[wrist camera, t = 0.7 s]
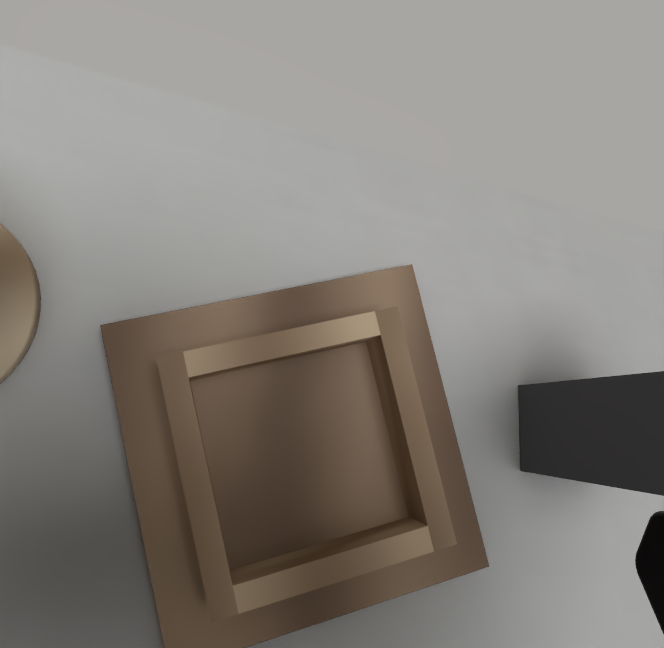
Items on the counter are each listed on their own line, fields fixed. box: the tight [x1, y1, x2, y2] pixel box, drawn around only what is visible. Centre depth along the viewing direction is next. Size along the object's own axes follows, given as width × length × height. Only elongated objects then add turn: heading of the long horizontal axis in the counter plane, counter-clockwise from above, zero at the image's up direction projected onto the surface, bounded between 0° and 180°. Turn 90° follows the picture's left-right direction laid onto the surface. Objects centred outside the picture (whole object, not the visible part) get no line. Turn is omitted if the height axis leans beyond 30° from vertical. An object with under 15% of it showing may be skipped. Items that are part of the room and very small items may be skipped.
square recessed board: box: [100, 264, 489, 648], centre depth 20 cm, size 11×11×3 cm
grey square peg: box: [518, 371, 664, 496], centre depth 18 cm, size 3×3×11 cm
